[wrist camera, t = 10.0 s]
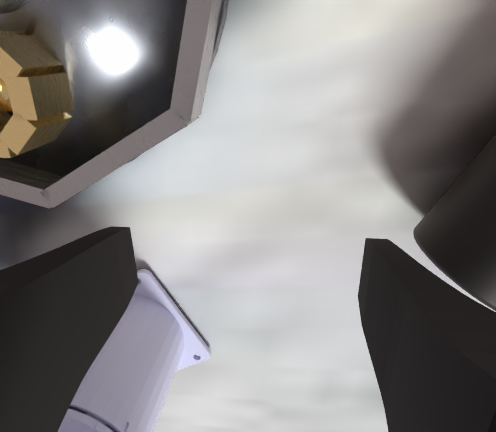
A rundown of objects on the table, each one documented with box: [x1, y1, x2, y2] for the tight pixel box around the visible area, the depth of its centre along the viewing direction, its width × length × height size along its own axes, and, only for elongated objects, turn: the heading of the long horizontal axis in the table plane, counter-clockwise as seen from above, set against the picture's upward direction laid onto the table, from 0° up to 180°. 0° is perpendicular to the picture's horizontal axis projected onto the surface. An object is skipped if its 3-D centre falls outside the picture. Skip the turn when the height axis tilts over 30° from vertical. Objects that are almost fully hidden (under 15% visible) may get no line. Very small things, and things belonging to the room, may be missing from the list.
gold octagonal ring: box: [0, 31, 74, 158], centre depth 18 cm, size 5×5×3 cm
